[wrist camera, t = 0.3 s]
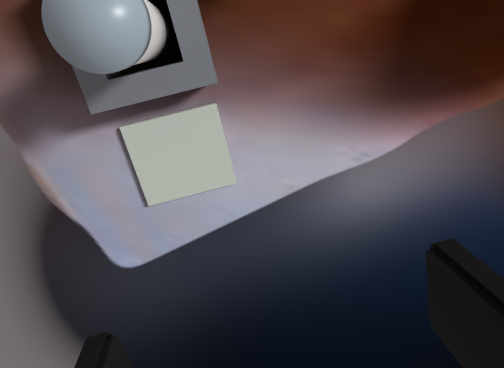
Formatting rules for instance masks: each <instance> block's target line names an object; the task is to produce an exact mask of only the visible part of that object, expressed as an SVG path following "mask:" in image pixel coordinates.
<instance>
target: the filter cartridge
mask: <svg viewBox="0 0 504 368" xmlns="http://www.w3.org/2000/svg"><path fill="white" fill-rule="evenodd" d="M41 14H42V22H43V27H44V30H45V33H46V35H47V37H48V39H49V41H50V43H51V44H52V46H53V48H54V49H55V50H56V51H57V53H58V54H59V55H60V56H61V57H62V58H63V59H65V60H66V61H67V62H68V63H70V64H71V65H73V66H74V67H76V68H78V69H80V70H83V71H86V72H90V73H94V74H109V73H114V72H117V71H121V70H124V69H127V68H129V67H131V66H132V65H136V64H139V63H143V62H146V61H150V60H153V59H156V58H158V57H159V56H161V55H162V54H163V53H164V52H165V50H166V49H167V47H168V45H169V42H170V26H169V23H168V21H167V19H166V17H165V15H164V14H163V13H162V12H161V11H160V10H159V9H158V8H157V7H156V6H154V5H153V4H152V3H151V2H149V1H148V0H43V1H42V9H41Z"/></svg>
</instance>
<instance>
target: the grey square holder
mask: <svg viewBox="0 0 504 368" xmlns="http://www.w3.org/2000/svg"><path fill="white" fill-rule="evenodd" d="M166 1H167V5H168V8H169V12H170V15H171V19H172V22H173V26H174V29H175V33H176V36H177V40H178V43H179V47H180V50H181V54H182V57H183V60H182V61H178V62H174V63H170V64H166V65H162V66H158V67H154V68H149V69H145V70H141V71H137V72H133V73H129V74H125V75H120V72H119V71H117V72H114V73H109V74H94V73H90V72H86V71H83V70H80V69H78V68H76V67H74V66H73V65H72V68H73V70H74V73H75V75H76V78H77V80H78V83H79V85H80V88H81V90H82V93H83V95H84V98H85V101H86V103H87V106H88V108H89V111H90V113H91V115H92V114H96V113H100V112H104V111H108V110H112V109H116V108H120V107H124V106H128V105H132V104H136V103H140V102H144V101H148V100H152V99H156V98H160V97H164V96H168V95H172V94H176V93H180V92H184V91H188V90H192V89H196V88H200V87H204V86H208V85H212V84H216V83H218V80H217V76H216V72H215V69H214V65H213V61H212V57H211V53H210V49H209V45H208V41H207V37H206V33H205V29H204V25H203V22H202V18H201V14H200V10H199V6H198V2H197V0H166Z"/></svg>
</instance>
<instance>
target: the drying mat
mask: <svg viewBox="0 0 504 368" xmlns="http://www.w3.org/2000/svg"><path fill="white" fill-rule="evenodd" d="M119 128H120V131H121V133H122V136H123V139H124V141H125V144H126V147H127V149H128V152H129V155H130V157H131V160H132V163H133V166H134V168H135V171H136V174H137V176H138V179H139V182H140V184H141V187H142V190H143V193H144V195H145V198H146V201H147V203H148V206H151V205H155V204H159V203H163V202H167V201H171V200H175V199H179V198H182V197H186V196H190V195H194V194H198V193H202V192H206V191H210V190H213V189H217V188H221V187H225V186H229V185H233V184H237V181H236V178H235V174H234V170H233V166H232V162H231V159H230V155H229V151H228V147H227V143H226V139H225V136H224V132H223V128H222V124H221V120H220V117H219V113H218V109H217V105H216V102H215V103H211V104H207V105H203V106H199V107H195V108H191V109H187V110H183V111H179V112H175V113H171V114H167V115H163V116H159V117H155V118H151V119H147V120H143V121H139V122H136V123H132V124H128V125H124V126H120V127H119Z"/></svg>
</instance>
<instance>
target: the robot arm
mask: <svg viewBox="0 0 504 368" xmlns="http://www.w3.org/2000/svg"><path fill="white" fill-rule="evenodd" d="M426 261H427V280H428V294H429V295H428V296H429V311H430V322H431V325H432V327H433V329H434V331H435V332H436V334H437V335H438V336H439V338H440V339H441V340H442V341H443V343H444V344H445V345H446V346H447V348H448V349H449V350H450V351H451V352H452V354H453V355H454V356H455V357H456V359H457V360H458V361H459V362H460V364H461V365H462V366H463V367H464V368H504V278H503V277H502V276H500V275H498V274H497V273H496V272H494V271H493V270H492V269H491V268H489V267H488V266H487V265H486V264H484V263H483V262H482V261H480V260H479V259H478V258H477V257H475V256H474V255H473V254H471V253H470V252H469V251H468V250H466V249H465V248H464V247H462V246H461V245H460V244H459V243H457V242H456V241H454V240H453V239H448V240H445V241H441V242H438V243H434V244H432V245H431V247H430V250H428V251H427V252H426ZM75 368H133V366H132V364H131V362H130V360H129V358H128V356H127V354H126V352H125V350H124V347H123V345H122V343H121V341H120V339H119V337H118V336H117V335H113V336H112V334H111V333H110V332H104V333H101V334H97V335H94V336H90V337H88V338H87V339H86V341H85V343H84V346H83V348H82V351H81V353H80V355H79V358H78V360H77V363H76V365H75Z"/></svg>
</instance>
